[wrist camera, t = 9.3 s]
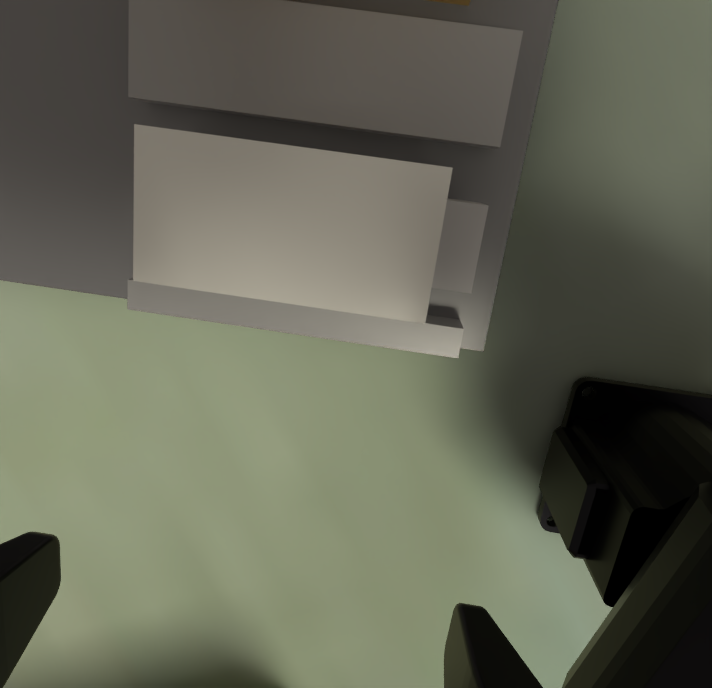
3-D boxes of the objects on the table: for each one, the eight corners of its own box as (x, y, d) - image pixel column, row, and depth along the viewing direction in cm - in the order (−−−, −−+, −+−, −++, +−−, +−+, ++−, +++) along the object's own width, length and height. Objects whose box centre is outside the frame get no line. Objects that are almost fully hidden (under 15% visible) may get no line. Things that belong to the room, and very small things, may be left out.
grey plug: (191, 135, 17) (134, 124, 14) (479, 174, 17) (501, 174, 13) (187, 259, 19) (132, 280, 15) (455, 298, 18) (470, 330, 15)
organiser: (589, -198, 15) (626, -273, 13) (477, 339, 20) (488, 362, 18) (-189, -286, 16) (-300, -373, 14) (-118, 251, 21) (-190, 261, 18)
